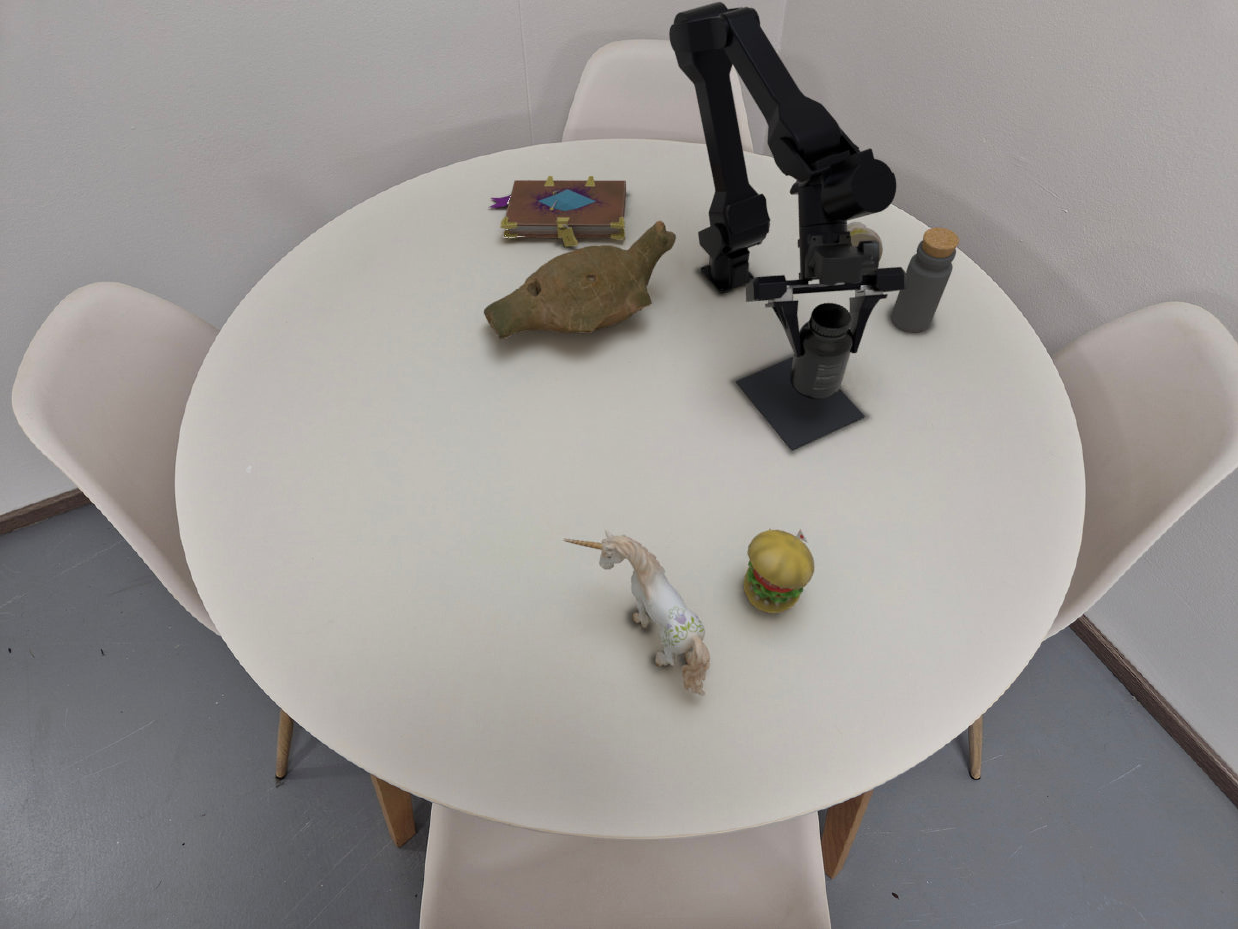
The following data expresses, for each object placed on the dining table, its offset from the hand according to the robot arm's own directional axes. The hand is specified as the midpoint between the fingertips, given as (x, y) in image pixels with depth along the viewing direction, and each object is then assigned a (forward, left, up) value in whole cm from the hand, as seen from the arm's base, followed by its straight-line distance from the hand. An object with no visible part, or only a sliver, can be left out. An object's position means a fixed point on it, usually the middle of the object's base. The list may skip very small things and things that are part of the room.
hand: (825, 355), depth 96 cm
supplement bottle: (-1, +1, -7) cm, 7 cm away
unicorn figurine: (+18, -37, -12) cm, 43 cm away
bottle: (-8, +24, -12) cm, 28 cm away
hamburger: (+20, -20, -12) cm, 31 cm away
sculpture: (-33, -19, -12) cm, 40 cm away
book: (-57, -13, -12) cm, 60 cm away
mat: (-3, 0, -12) cm, 12 cm away
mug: (-24, +25, -12) cm, 37 cm away
